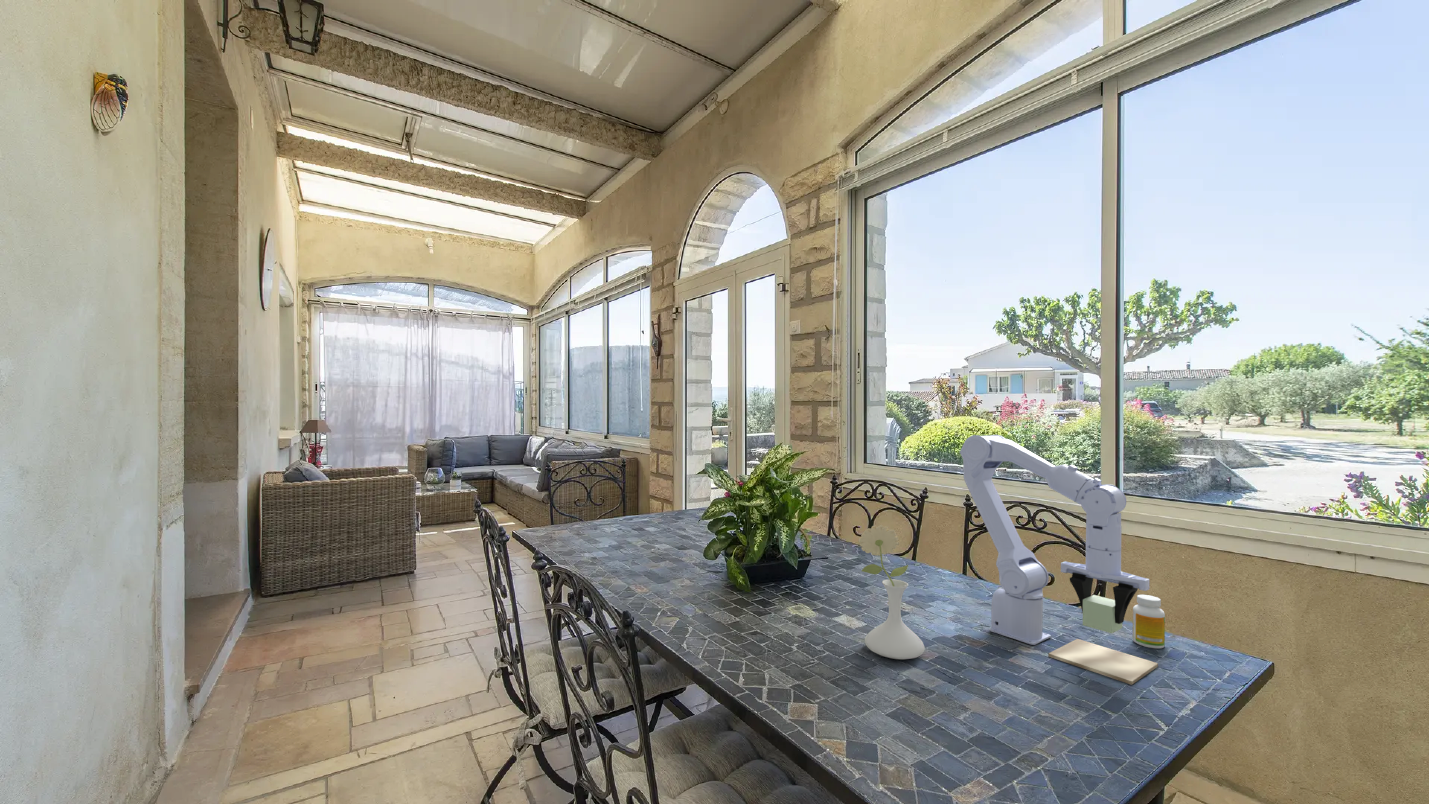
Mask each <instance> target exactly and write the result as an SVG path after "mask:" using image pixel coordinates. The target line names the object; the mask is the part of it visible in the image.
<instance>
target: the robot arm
mask: <svg viewBox="0 0 1429 804" xmlns="http://www.w3.org/2000/svg"><path fill="white" fill-rule="evenodd" d="M959 454H960V455H961V457H962V460H963V468H962V469H963V480H964V483H965V485H966V487H967V489H968V491H969V493H970V495H971V497H972V499H973V502H974V503H975V506H976V508H977V510H978V512H979V514H980V517H981V519H982V521H983V523H984V525H985V527H986V529H987V531H988V534H989V536H990V538H991V540H992V542H993V545H994V546H995V549H996V551H997V554H998V556H997V558H996V560H995V561H996V562H995V565H996V568H997V570H998V579H999V580H998V581H999V584H1000V586H1001V588H1000V587H999V588H997V589H996V590H995V591H994V593H993V594H992V598H991V608H990V609H991V613H990V614H991V619H990V622H991V623H990V628H989V632H992V633H995V634H998V635H1000V636H1004V637H1006V638H1010V639H1014V640H1016V641H1019V642H1022V643H1025V644H1027V645H1032V646H1036V645H1037V644H1039V643H1041V642H1044V641H1046V640H1048V639H1050V638H1051V637H1052V636H1051V634H1049V633H1046V632H1043V627H1044V625H1043V620H1044V614H1043V613H1044V593H1043V589H1044V588H1045V587H1046V586H1047V585H1048V583H1049V579H1050V577H1049V572H1048V570H1047V568H1046V567H1045V566H1044V565H1043V564H1042V563H1041V562H1040V561H1039V560H1038V559H1037V557H1036V555H1035V553H1034V552H1033V551H1032V550H1030V549H1029V548H1027V547H1026V546H1025V545H1024V543H1023V541H1022V540H1021V539H1022V538H1021V537H1020V535H1019V533H1018V531H1017V529H1016V527H1015V525H1014V523H1013V521H1012V518H1011V516H1010V515H1009V512H1008V510H1007V508H1006V506H1005V504H1004V502H1003V500H1002V498H1001V496H1000V494H999V492H998V490H997V488H996V486H995V484H994V482H993V476H994V474H995V473H996V471H997V469H998V468H999V466H1001V464H1003V462H1010V463H1013V464H1015V465H1016V466H1019V467H1021V468H1023V469H1025V470H1027V471H1029V472H1031V473H1033V474H1035V475H1037V476H1039V477H1041V478H1043V479H1045V480H1046V483H1047V485H1048V487H1049V488H1050V489H1051V490H1053V491H1055V492H1056V493H1058V494H1060V495H1062V496H1064V497H1065V498H1067V499H1069V500H1071V501H1073V502H1074V503H1077V504H1078V505H1080V506H1081V507H1082V509H1083V511H1084V512H1085V513H1086V515H1085V516H1086V517H1085V518H1086V522H1085V563H1084V564H1083V563H1076V562H1069V561H1063V562H1060V573H1062V574H1071V577H1069V581H1070V584H1071V585H1072V587H1073V589H1074V591H1075V593H1076V596H1077V598H1078V601H1079V603H1080V608H1081V613H1082V614H1083V599H1085V598H1088V597H1090V596H1092V589H1093V582H1094V580H1099V581H1102V582H1107V583H1112V584H1116V585H1115V586H1113V587H1112V591H1113V592H1112V593H1113V597H1114V600H1115V623H1117V624H1121V623H1122V624H1123V623H1124V622H1125V621H1124V620H1125V618H1126V613H1127V611H1128V610H1127V609H1128V607H1129V606H1130V605H1129V604H1130V603H1131V601H1132V599H1133V597H1134V596H1135V594H1136V593H1137V592H1138V590H1140V591H1145V592H1147V591H1148V590H1149V591H1150V582H1151V581H1150V578H1147V577H1142V576H1138V575H1135V574H1132V573H1130V572H1129V573H1128V572H1126V571H1125V572H1124V571H1122V511H1123V510H1124V509H1125V508H1126V505H1127V497H1126V496H1125V493H1124V492H1123V491H1122V490H1121V488H1118V487H1117V486H1116V485H1114V484H1112V483H1107V484H1105V483H1103V484H1102V480H1101V479H1099V478H1097V477H1095V478H1093V477H1092V476H1089V475H1087V474H1085V473H1083V472H1081V471H1079V470H1078V469H1079V467H1078V466H1075V465H1074V464H1069V465H1067V464H1066V463H1065V464H1059V465H1055V464H1052V463H1051V462H1049V461H1047V460H1046V459H1044V458H1042V457H1041V456H1039V455H1037V454H1035V453H1034V452H1032V451H1030V450H1028V449H1027V448H1026V447H1024V446H1021V445H1020V444H1018V443H1017V442H1015V441H1014V440H1012V439H1008V438H1005V437H1004V436H1003V435H1000V434H991V435H980V434H979V435H978V434H974V435H971V436H969V437H967V438H966V439H965V440H964V443H963V444H962V447H961V449H960V451H959Z"/></svg>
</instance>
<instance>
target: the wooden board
mask: <svg viewBox="0 0 1429 804" xmlns="http://www.w3.org/2000/svg"><path fill="white" fill-rule="evenodd" d="M1049 657H1050V659H1051V658H1052V659H1055V660H1058V661H1060V662H1062V663H1063V662H1064V663H1067V664H1069V665H1072V666H1076V667H1078V668H1081V669H1085V670H1087V671H1090V672H1094V673H1096V674H1099V675H1102V676H1105V677H1108V678H1111V679H1113V680H1117V681H1118V682H1122V683H1126V684H1129V685H1131V686H1133V685H1134V684H1135V683H1137V682H1139V680H1141V679H1143V678H1144V677H1145V676H1147V675H1148V674H1149V673H1151V672H1152V671H1154V670H1155V669H1156V668H1158V667H1159V663H1158V662H1155V661H1152V660H1149V659H1145V658H1142V657H1138V656H1136V655H1131V654H1128V653H1125V652H1123V651H1119V650H1116V649H1112V648H1109V647H1106V646H1102V645H1099V644H1095V643H1093V642H1089V641H1086V640H1083V639H1079V638H1076V639H1074V640H1072V641H1070V642H1069V643H1066V644H1064V645H1062V646H1061V647H1058V648H1056V649H1054V650H1052V651H1050V652H1049V653H1048V658H1049Z"/></svg>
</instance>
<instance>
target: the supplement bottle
mask: <svg viewBox="0 0 1429 804" xmlns="http://www.w3.org/2000/svg"><path fill="white" fill-rule="evenodd" d="M1161 601H1162V600H1161V598H1159V597H1158V596H1153V595H1148V594H1137V596H1136V603H1138V604H1135V605H1134V606H1132V607H1133V608H1132V641H1133V642H1134V643H1135V644H1137V645H1139V646H1142V647H1144V648H1149V649H1163V648H1165V645H1166V643H1165V642H1166V639H1165V638H1166V637H1165V636H1166V632H1165V631H1166V614H1165V611H1164V610H1163V609H1162V608H1161V606H1162V604H1161V603H1162V602H1161Z"/></svg>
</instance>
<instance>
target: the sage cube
mask: <svg viewBox="0 0 1429 804" xmlns="http://www.w3.org/2000/svg"><path fill="white" fill-rule="evenodd" d="M1082 626H1084V627H1088V628H1092V629H1094V630H1097V631H1098V630H1099V631H1102V632H1105V633H1108V634H1115V633H1116V632H1118V631H1120V630H1122V629H1123V623H1121V624H1117V623H1115V599H1112V598H1108V597H1104V596H1099V595H1096V594H1091V596H1090V597H1088V598H1085V599H1083V613H1082Z"/></svg>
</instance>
